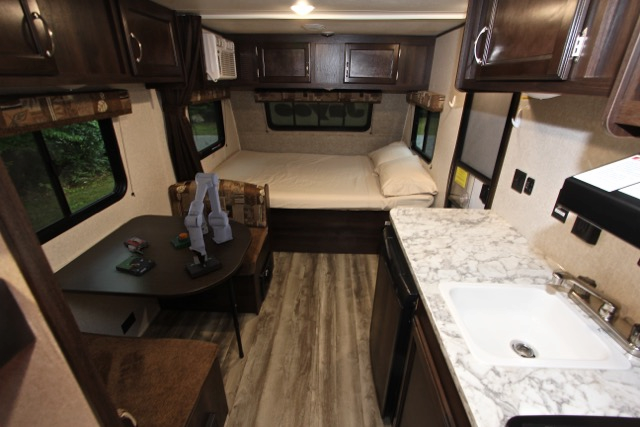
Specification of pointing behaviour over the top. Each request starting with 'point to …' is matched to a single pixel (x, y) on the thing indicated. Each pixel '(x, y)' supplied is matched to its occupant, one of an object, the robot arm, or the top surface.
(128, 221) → the top surface
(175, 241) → the control block
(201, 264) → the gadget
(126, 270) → the disk drive
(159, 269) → the top surface
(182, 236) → the button
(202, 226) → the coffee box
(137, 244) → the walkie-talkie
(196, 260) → the pale grey block
